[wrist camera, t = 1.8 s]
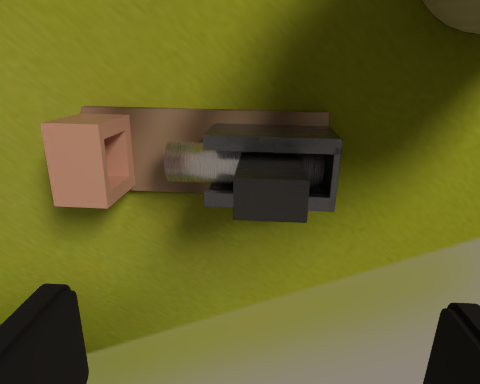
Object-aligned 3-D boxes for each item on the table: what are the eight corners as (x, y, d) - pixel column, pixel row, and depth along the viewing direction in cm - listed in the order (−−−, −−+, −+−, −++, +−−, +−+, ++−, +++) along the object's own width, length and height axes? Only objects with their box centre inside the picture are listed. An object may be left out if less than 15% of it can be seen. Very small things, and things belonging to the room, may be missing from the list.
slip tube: (319, 142, 26) (344, 176, 18) (316, 180, 27) (337, 229, 19) (173, 137, 27) (131, 168, 19) (175, 174, 28) (135, 220, 20)
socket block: (129, 114, 28) (98, 124, 23) (135, 184, 30) (107, 208, 25) (81, 113, 29) (40, 122, 23) (90, 183, 31) (54, 206, 25)
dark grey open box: (328, 126, 27) (342, 139, 22) (322, 186, 29) (334, 211, 24) (214, 123, 28) (202, 135, 23) (215, 182, 30) (204, 206, 25)
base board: (327, 111, 28) (329, 113, 27) (319, 194, 30) (321, 198, 29) (86, 106, 29) (80, 107, 28) (96, 185, 32) (91, 188, 31)
